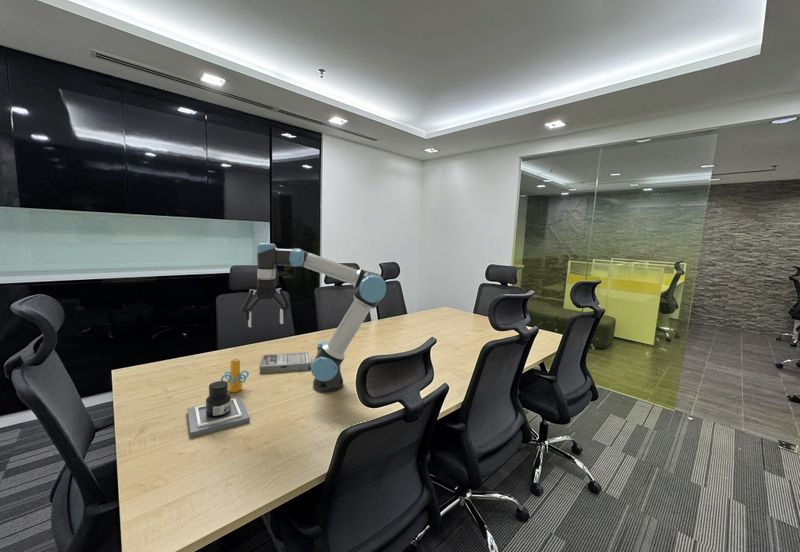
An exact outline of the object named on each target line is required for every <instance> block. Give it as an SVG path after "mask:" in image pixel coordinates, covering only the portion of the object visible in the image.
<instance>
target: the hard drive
mask: <svg viewBox="0 0 800 552" xmlns="http://www.w3.org/2000/svg"><path fill="white" fill-rule="evenodd" d="M310 354H311V353H310V352H309V351H307V352H293V353H291V352H289V353H276V354H275V353H273V354H271V353H270V354H263V355H261V358H260V359H261V360H260V365H259V374H272V373H273V374H274V373H276V374H277V373H287V372H298V371H311V366H312V360H311V355H310Z"/></svg>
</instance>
